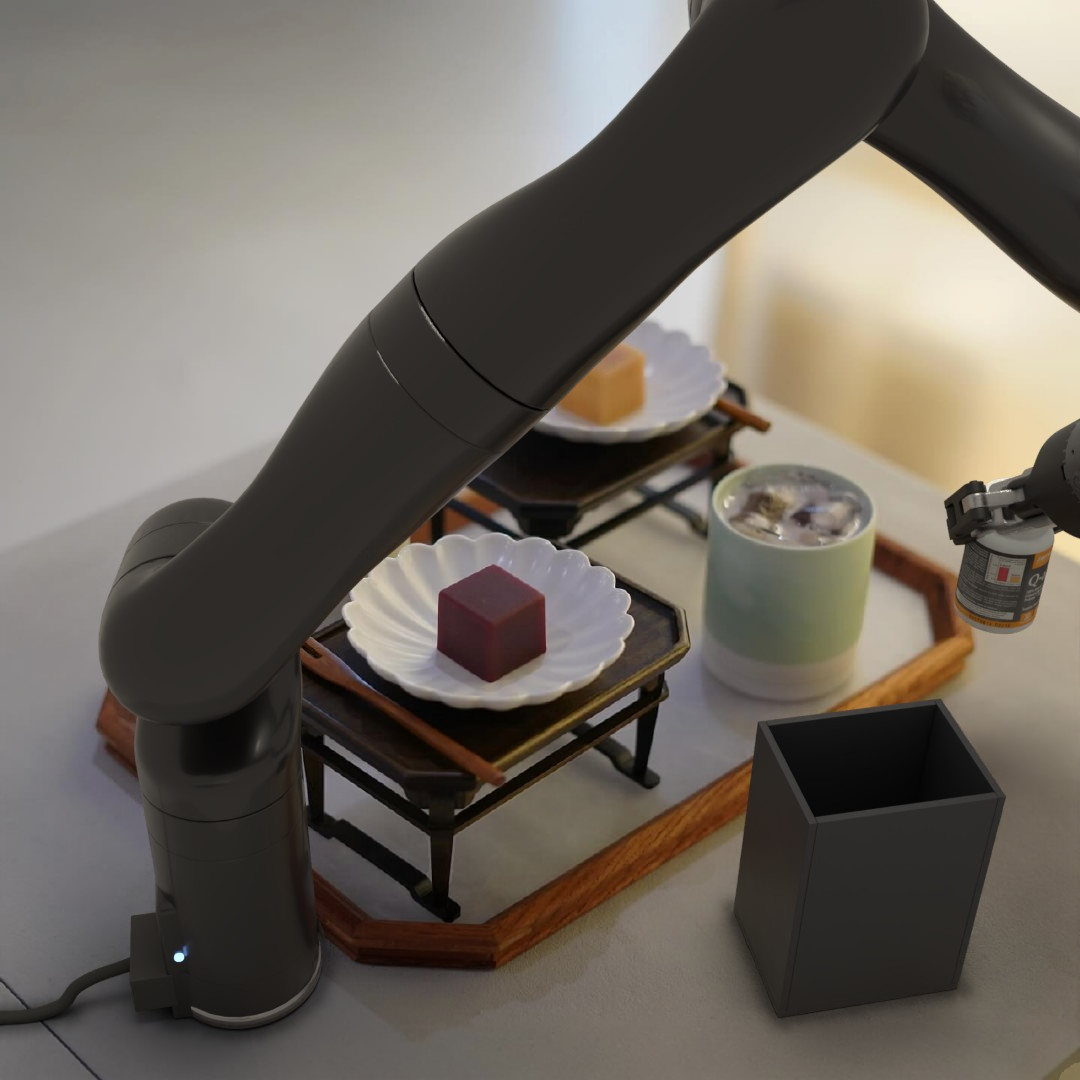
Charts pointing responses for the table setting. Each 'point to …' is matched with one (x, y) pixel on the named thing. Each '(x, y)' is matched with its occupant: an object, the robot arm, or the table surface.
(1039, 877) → the table surface
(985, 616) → the pill bottle
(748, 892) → the waste bin
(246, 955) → the robot arm
